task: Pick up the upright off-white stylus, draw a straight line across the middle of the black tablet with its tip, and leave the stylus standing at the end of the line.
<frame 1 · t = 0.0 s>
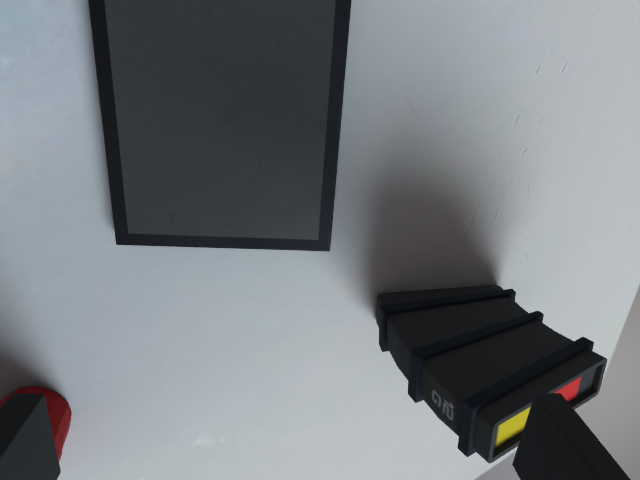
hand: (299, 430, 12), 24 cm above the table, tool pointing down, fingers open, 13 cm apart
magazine: (449, 301, 39), on the table
plastic cup: (36, 409, 40), on the table
tablet: (225, 95, 31), on the table
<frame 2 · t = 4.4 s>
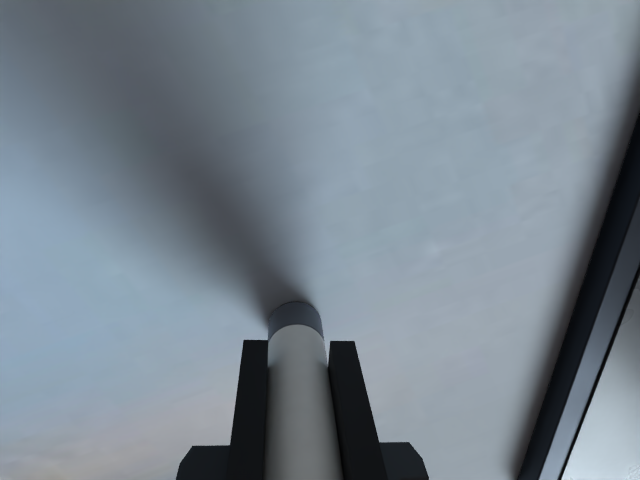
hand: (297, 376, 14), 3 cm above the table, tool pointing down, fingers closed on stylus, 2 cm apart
stylus: (295, 324, 17), on the table, touching gripper
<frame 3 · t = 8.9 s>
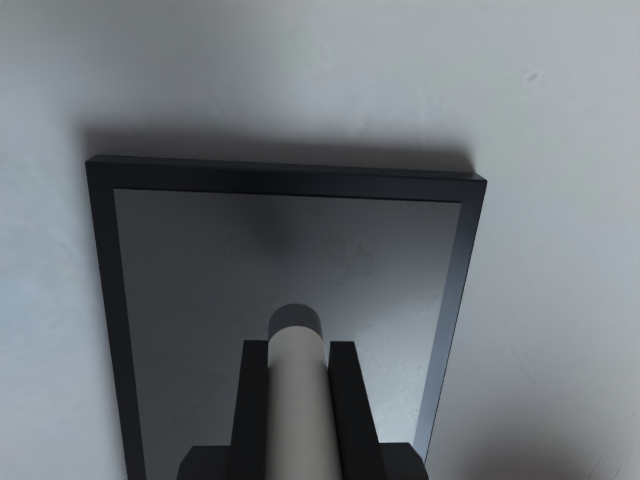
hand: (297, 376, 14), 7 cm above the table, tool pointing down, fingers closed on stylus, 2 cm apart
stylus: (294, 325, 17), point 4 cm above the table, touching gripper
tablet: (284, 373, 23), on the table
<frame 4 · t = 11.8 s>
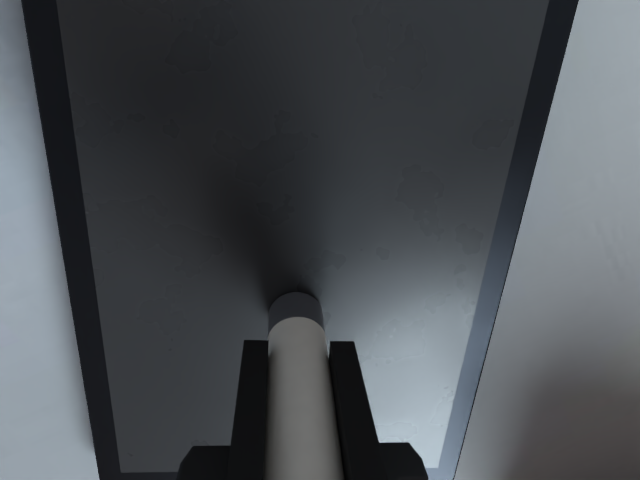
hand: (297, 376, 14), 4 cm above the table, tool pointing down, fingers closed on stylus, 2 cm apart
stylus: (295, 314, 17), point 1 cm above the table, touching gripper
tablet: (295, 252, 17), on the table
when the fingers open (4 cm above the table, at t = 13.6 s): stylus stays where it is, resting on tablet.
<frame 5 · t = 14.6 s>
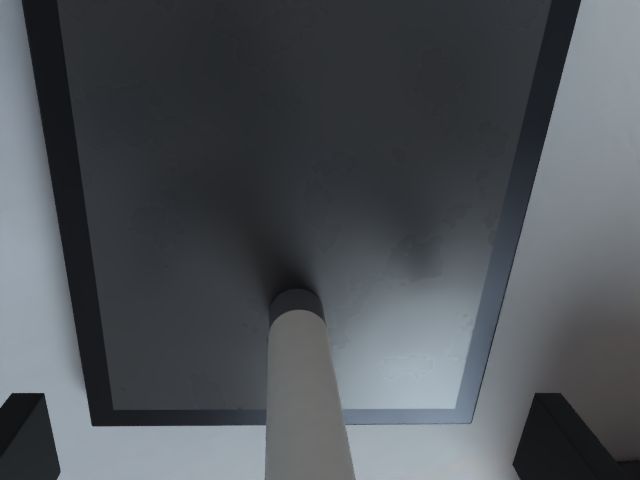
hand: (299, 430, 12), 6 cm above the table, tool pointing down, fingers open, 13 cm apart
stylus: (296, 311, 17), point 1 cm above the table, touching tablet
tablet: (302, 161, 16), on the table
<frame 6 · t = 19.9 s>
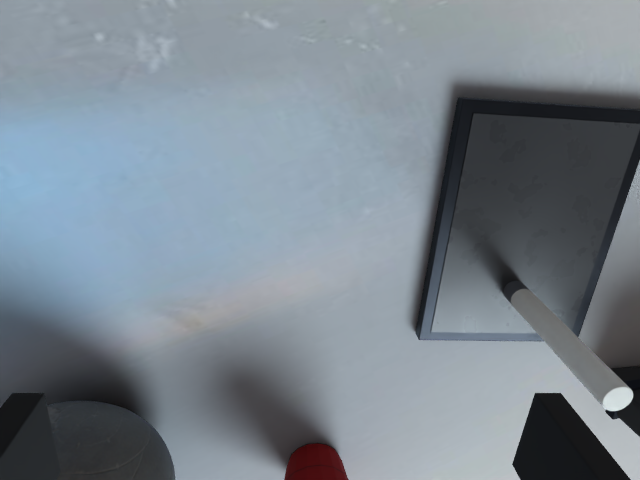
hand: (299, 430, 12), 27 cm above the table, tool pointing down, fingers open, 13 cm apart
stylus: (513, 290, 41), point 1 cm above the table, touching tablet
plastic cup: (312, 460, 50), on the table
tablet: (520, 230, 41), on the table
bowl: (99, 434, 46), on the table
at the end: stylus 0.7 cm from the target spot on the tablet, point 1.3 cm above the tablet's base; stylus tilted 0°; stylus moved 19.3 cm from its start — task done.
